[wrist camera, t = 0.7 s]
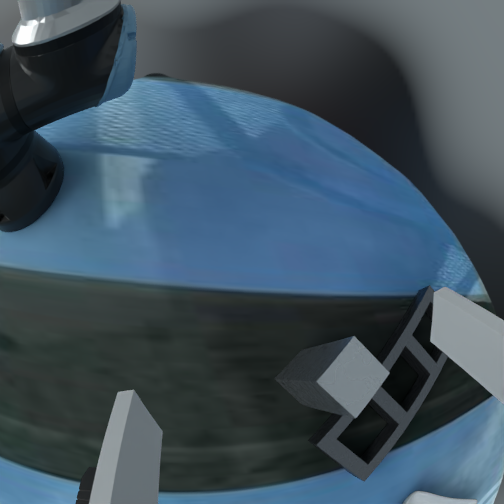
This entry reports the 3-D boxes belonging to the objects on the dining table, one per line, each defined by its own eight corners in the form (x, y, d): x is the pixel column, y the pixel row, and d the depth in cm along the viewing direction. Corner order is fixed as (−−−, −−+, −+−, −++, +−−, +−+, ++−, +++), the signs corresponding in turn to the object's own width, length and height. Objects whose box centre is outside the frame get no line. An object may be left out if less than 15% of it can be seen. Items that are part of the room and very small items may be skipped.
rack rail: (308, 440, 27) (316, 445, 25) (418, 290, 37) (429, 285, 35) (354, 476, 25) (364, 481, 23) (450, 329, 36) (461, 325, 33)
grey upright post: (274, 378, 29) (316, 381, 19) (302, 349, 31) (354, 335, 20) (302, 404, 29) (355, 418, 18) (328, 375, 30) (389, 372, 20)
